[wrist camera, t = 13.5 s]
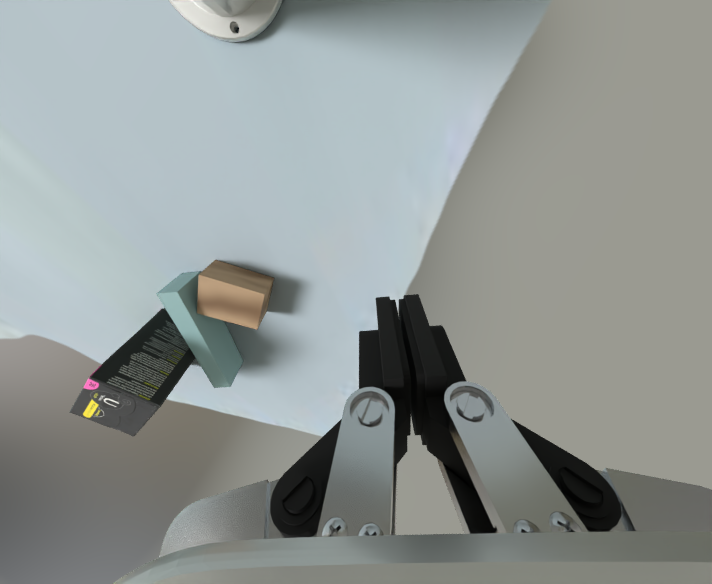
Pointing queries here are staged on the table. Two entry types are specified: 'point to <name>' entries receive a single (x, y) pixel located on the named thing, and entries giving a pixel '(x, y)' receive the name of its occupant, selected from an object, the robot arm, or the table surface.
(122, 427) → the tampon box
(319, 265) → the table surface
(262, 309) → the block
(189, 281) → the board
